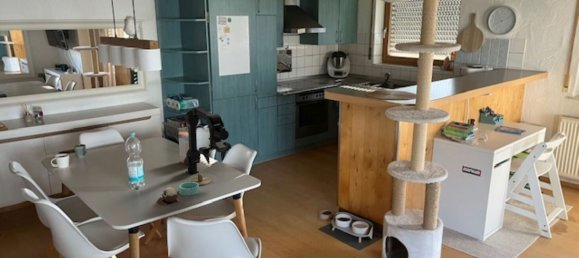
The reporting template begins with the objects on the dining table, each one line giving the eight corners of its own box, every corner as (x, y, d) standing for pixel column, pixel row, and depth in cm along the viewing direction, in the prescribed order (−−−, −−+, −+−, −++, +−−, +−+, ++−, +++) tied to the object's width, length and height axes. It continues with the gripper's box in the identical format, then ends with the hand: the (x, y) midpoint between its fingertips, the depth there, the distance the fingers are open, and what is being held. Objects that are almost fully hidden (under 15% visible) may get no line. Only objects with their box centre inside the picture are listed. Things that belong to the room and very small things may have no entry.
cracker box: (198, 165, 290) (196, 135, 284) (190, 167, 286) (188, 136, 281) (187, 160, 300) (186, 130, 295) (179, 161, 296) (177, 132, 291)
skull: (151, 199, 234) (161, 182, 237) (165, 207, 241) (174, 190, 244) (163, 205, 226) (173, 187, 229) (177, 213, 233) (187, 196, 236)
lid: (186, 181, 260) (185, 174, 259) (203, 177, 268) (203, 169, 267) (196, 187, 252) (196, 179, 251) (214, 182, 260) (214, 174, 258)
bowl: (175, 191, 247) (175, 185, 246) (192, 186, 254) (192, 180, 253) (185, 197, 239) (185, 190, 238) (202, 192, 246) (202, 185, 245)
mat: (186, 182, 260) (186, 181, 260) (203, 177, 268) (203, 176, 268) (196, 188, 252) (196, 187, 252) (214, 183, 260) (214, 182, 260)
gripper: (207, 142, 236) (208, 169, 241) (236, 136, 248) (236, 162, 252) (197, 138, 245) (198, 164, 249) (225, 132, 256) (226, 157, 260)
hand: (215, 162), depth 252 cm, fingers open, 9 cm apart
